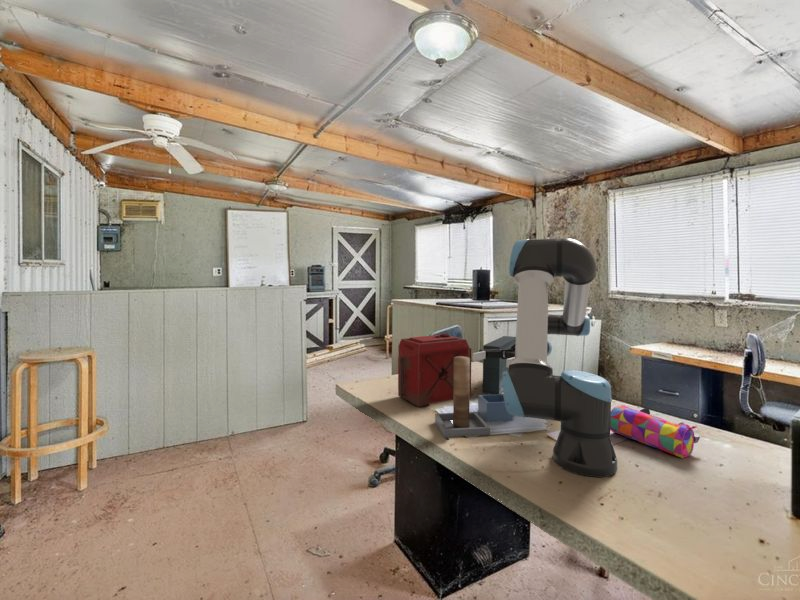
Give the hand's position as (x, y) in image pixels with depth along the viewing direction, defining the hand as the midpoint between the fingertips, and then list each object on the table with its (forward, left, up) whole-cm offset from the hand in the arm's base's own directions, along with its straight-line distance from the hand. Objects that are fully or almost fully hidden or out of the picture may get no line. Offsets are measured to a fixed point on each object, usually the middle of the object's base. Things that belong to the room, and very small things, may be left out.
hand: (489, 360), depth 131 cm
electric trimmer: (-7, -49, -21) cm, 54 cm away
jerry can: (+25, +15, -21) cm, 36 cm away
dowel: (-8, +12, -19) cm, 24 cm away
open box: (0, -2, -20) cm, 20 cm away
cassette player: (+39, -19, -21) cm, 48 cm away
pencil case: (-24, -40, -21) cm, 51 cm away
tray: (-8, +12, -20) cm, 25 cm away
